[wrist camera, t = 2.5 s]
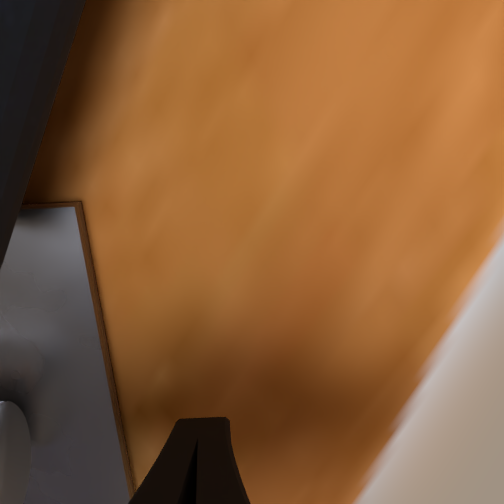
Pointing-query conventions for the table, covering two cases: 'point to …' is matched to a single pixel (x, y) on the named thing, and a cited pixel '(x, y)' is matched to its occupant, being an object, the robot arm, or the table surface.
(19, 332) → the grey cradle rack
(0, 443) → the grey long cylinder
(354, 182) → the table surface
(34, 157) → the pipe connector
